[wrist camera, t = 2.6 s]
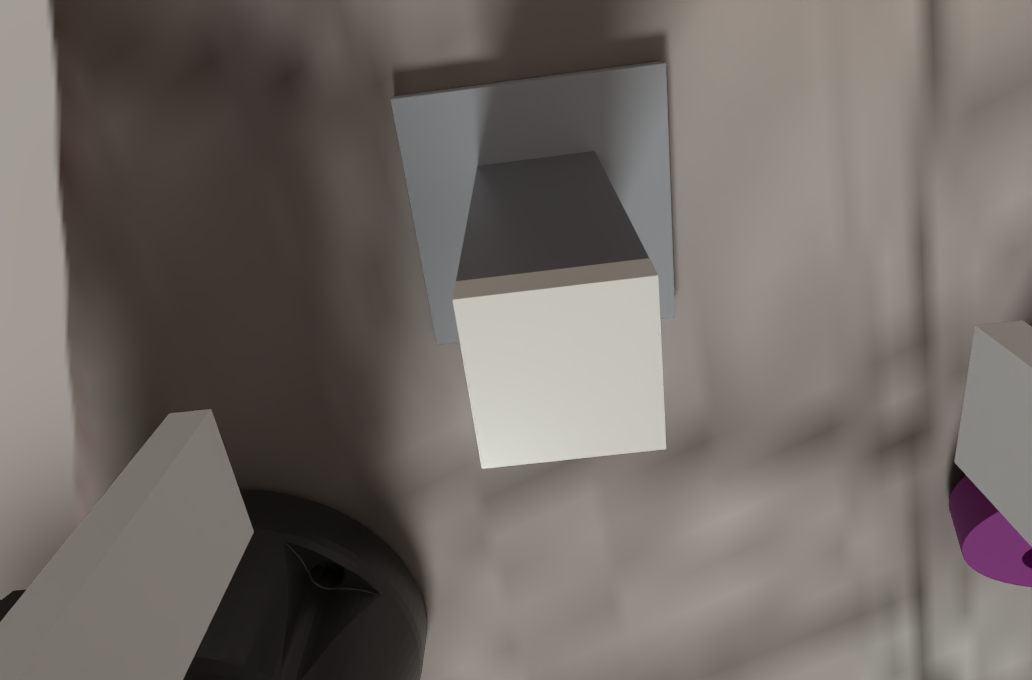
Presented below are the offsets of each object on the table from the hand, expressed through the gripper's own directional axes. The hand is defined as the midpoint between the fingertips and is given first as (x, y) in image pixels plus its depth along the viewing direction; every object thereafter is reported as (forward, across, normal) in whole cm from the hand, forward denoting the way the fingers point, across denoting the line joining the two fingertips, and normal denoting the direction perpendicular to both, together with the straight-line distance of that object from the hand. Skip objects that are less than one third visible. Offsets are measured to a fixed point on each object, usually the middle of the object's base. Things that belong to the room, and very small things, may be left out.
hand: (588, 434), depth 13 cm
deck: (+15, 0, 0) cm, 15 cm away
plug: (+14, 0, 0) cm, 14 cm away
